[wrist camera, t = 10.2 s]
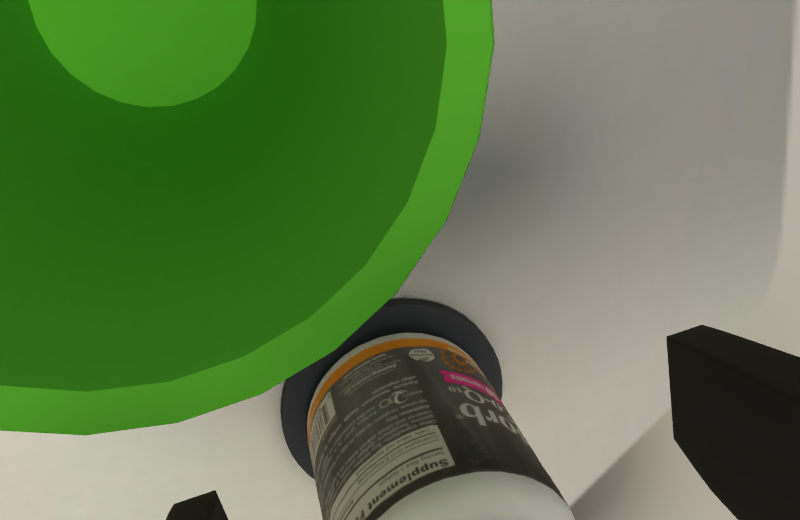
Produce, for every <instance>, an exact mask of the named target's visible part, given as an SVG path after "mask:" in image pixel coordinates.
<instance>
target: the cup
mask: <svg viewBox="0 0 800 520" xmlns="http://www.w3.org/2000/svg"><path fill="white" fill-rule="evenodd" d="M493 49H494V28H493V12H492V0H0V430H1V431H20V432H38V433H56V434H74V435H90V434H98V433H105V432H113V431H120V430H127V429H135V428H142V427H150V426H157V425H165V424H172V423H178V422H181V421H184V420H187V419H190V418H193V417H196V416H199V415H202V414H205V413H207V412H210V411H213V410H216V409H219V408H222V407H225V406H228V405H231V404H234V403H237V402H240V401H242V400H245V399H248V398H251V397H254V396H257V395H260V394H262V393H264V392H265V391H267V390H269V389H270V388H272V387H274V386H276V385H277V384H279V383H281V382H282V381H284V380H286V379H287V378H289V377H291V376H292V375H294V374H296V373H297V372H299V371H301V370H303V369H304V368H306V367H308V366H309V365H311V364H313V363H314V362H316V361H318V360H319V359H321V358H323V357H324V356H326V355H328V354H330V353H331V352H333V351H334V350H336V349H337V348H338V347H339V346H340V345H341V344H342V343H343V342H344V341H345V340H346V339H347V338H348V337H350V336H351V335H352V334H353V333H354V332H355V331H356V330H357V329H358V328H359V327H360V326H361V325H362V324H364V323H365V322H366V321H367V320H368V319H369V318H370V317H371V316H372V315H373V314H374V313H375V312H376V311H378V310H379V309H380V308H381V307H382V306H383V305H384V304H385V303H386V302H387V301H388V300H389V299H390V298H391V297H393V296H394V295H395V294H396V293H397V291H398V290H399V288H400V287H401V285H402V284H403V282H404V281H405V280H406V278H407V277H408V275H409V274H410V272H411V271H412V269H413V268H414V266H415V265H416V264H417V262H418V261H419V259H420V258H421V256H422V255H423V253H424V252H425V250H426V249H427V248H428V246H429V245H430V243H431V242H432V240H433V239H434V237H435V236H436V234H437V233H438V232H439V230H440V229H441V227H442V226H443V224H444V223H445V221H446V220H447V218H448V215H449V213H450V210H451V208H452V205H453V203H454V200H455V198H456V195H457V193H458V190H459V188H460V185H461V183H462V180H463V177H464V175H465V172H466V170H467V167H468V165H469V162H470V160H471V157H472V155H473V152H474V150H475V147H476V145H477V142H478V140H479V137H480V132H481V125H482V119H483V113H484V106H485V100H486V94H487V87H488V81H489V75H490V68H491V62H492V56H493Z"/></svg>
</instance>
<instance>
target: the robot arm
mask: <svg viewBox="0 0 800 520" xmlns="http://www.w3.org/2000/svg"><path fill="white" fill-rule="evenodd" d="M667 350H668V364H669V378H670V392H671V406H672V420H673V433H674V439H675V441H676V442H677V444H678V445H679V447H680V448H681V449H682V451H683V452H684V454H685V455H686V457H687V458H688V459H689V461H690V462H691V463H692V465H693V467H694V468H695V469H696V471H697V472H698V473H699V475H700V476H701V477H702V479H703V480H704V481H705V483H706V484H707V485H708V487H709V488H710V489H711V490H712V492H713V493H714V494H715V495H716V496H717V497H718V498H719V500H721V502H722V503H723V504H724V505H725V506H726V507H727V508H728V509H729V510H730V511H731V512H732V514H733V515H734V516H735V517H736V518H737V519H738V520H800V357H797V356H794V355H791V354H788V353H786V352H783V351H780V350H777V349H774V348H771V347H768V346H765V345H763V344H759V343H757V342H754V341H751V340H747V339H745V338H742V337H739V336H736V335H733V334H730V333H727V332H724V331H721V330H718V329H714V328H711V327H708V326H704V325H700V326H697V327H694V328H691V329H688V330H685V331H682V332H679V333H676V334H673V335H670V336H667ZM166 520H228V518H227V516H226V514H225V511H224V509H223V507H222V504H221V502H220V500H219V497H218V495H217V493H216V491H215V490H214V491H211V492H209V493H206V494H203V495H200V496H197V497H194V498H191V499H188V500H185V501H182V502H179V503H176V504H174V505H173V507H172V508H171V510H170V512H169V514H168V516H167V518H166Z"/></svg>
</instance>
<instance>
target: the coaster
mask: <svg viewBox="0 0 800 520" xmlns="http://www.w3.org/2000/svg"><path fill="white" fill-rule="evenodd" d="M398 333H423V334H428V335H432V336H436V337H440V338H443V339H445V340H448V341H450V342H451V343H453V344H455V345H456V346H458V347H459V348H461V349H462V350H463V351H465V352H466V353H467V354H468V355H469V356H470V357H471V358H472V359H473V361H474V362H475V363H476V364H477V366H478V367H479V368H480V370H481V371H482V372H483V374H484V375H485V377H486V378H487V380H488V381H489V383H490V384H491V386H492V387H493V389H494V391H495V392H496V394H497V396H498V397H499V399H500V400H501V397H502V375H501V369H500V365H499V362H498V358H497V356H496V354H495V352H494V350H493V348H492V346H491V345H490V343H489V342H488V340H487V339H486V337H485V336H484V334H483V333H482V332H481V331H480V330H479V329H478V328H477V326H476V325H475V324H474V323H472V322H471V321H470V320H469V319H467V318H466V317H465V316H463V315H461V314H460V313H458V312H456V311H455V310H453V309H450V308H448V307H445V306H443V305H440V304H436V303H432V302H428V301H421V300H412V299H407V300H390V301H387V302H386V303H385V304H384V305H383V306H382V307H381V308H380V309H379V310H378V311H376V312H375V313H374V314H373V315H372V316H371V317H370V318H369V319H368V320H367V321H366V322H365V323H364V324H362V325H361V326H360V327H359V328H358V329H357V330H356V331H355V332H354V333H353V334H352V335H351V336H350V337H348V338H347V339H346V340H345V341H344V342H343V343H342V344H341V345H340V346H339V347H338V348H337V349H336V350H334V351H333V352H331V353H330V354H328V355H326V356H324V357H323V358H321V359H319V360H318V361H316V362H314V363H313V364H311V365H309V366H308V367H306V368H304V369H303V370H301V371H299V372H297V373H296V374H294V375H292V376H291V377H289V378H287V379H286V382H285V385H284V389H283V394H282V399H281V420H282V428H283V432H284V436H285V440H286V443H287V445H288V447H289V450H290V452H291V454H292V455H293V457H294V458H295V460H296V461H297V463H298V464H299V465H300V466H301V467H302V469H303V470H304V471H305V472H306V473H307V474H308V475H310V476H311V477H312V478H314V479H315V477H314V472H313V467H312V461H311V456H310V450H309V445H308V433H307V420H308V412H309V408H310V404H311V401H312V399H313V396H314V393H315V391H316V389H317V387H318V385H319V383H320V382H321V380H322V379H323V377H324V376H325V375H326V373H327V372H328V371H329V370H330V369H331V368H332V366H333V365H334V364H336V363H337V362H338V361H339V360H340V359H341V358H342V357H343V356H344V355H345V354H347V353H349V352H350V351H351V350H353V349H354V348H356V347H358V346H360V345H362V344H364V343H366V342H369V341H371V340H374V339H376V338H379V337H383V336H387V335H392V334H398Z"/></svg>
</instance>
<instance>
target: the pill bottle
mask: <svg viewBox="0 0 800 520" xmlns="http://www.w3.org/2000/svg"><path fill="white" fill-rule="evenodd" d="M307 433H308V445H309V450H310V456H311V461H312V467H313V472H314V477H315V481H316V487H317V492H318V498H319V502H320V507H321V512H322V517H323V520H575V519H574V516H573V514H572V512H571V510H570V508H569V506H568V504H567V503H566V501H565V500H564V498H563V497H562V495H561V493H560V492H559V490H558V488H557V487H556V485H555V484H554V482H553V481H552V479H551V478H550V476H549V475H548V473H547V472H546V471H545V469H544V468H543V466H542V465H541V463H540V462H539V460H538V458H537V457H536V455H535V453H534V451H533V450H532V448H531V447H530V445H529V444H528V442H527V441H526V439H525V438H524V436H523V435H522V433H521V432H520V430H519V429H518V427H517V425H516V424H515V422H514V421H513V419H512V417H511V416H510V415H509V413H508V412H507V410H506V408H505V407H504V405H503V403H502V402H501V400H500V399H499V397H498V396H497V394H496V392H495V391H494V389H493V387H492V386H491V384H490V383H489V381H488V380H487V378H486V377H485V375H484V374H483V372H482V371H481V370H480V368H479V367H478V366H477V364H476V363H475V362H474V361H473V359H472V358H471V357H470V356H469V355H468V354H467V353H466V352H465V351H463V350H462V349H461V348H459V347H458V346H456V345H455V344H453V343H451V342H450V341H448V340H445V339H443V338H440V337H436V336H432V335H428V334H423V333H398V334H392V335H387V336H383V337H379V338H376V339H374V340H371V341H369V342H366V343H364V344H362V345H360V346H358V347H356V348H354V349H353V350H351V351H350V352H349V353H347V354H345V355H344V356H343V357H342V358H341V359H340V360H339V361H338V362H337V363H336V364H334V365H333V366H332V368H331V369H330V370H329V371H328V372H327V373H326V375H325V376H324V377H323V379H322V380H321V382H320V383H319V385H318V387H317V389H316V391H315V393H314V396H313V399H312V401H311V404H310V408H309V412H308V420H307Z"/></svg>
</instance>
